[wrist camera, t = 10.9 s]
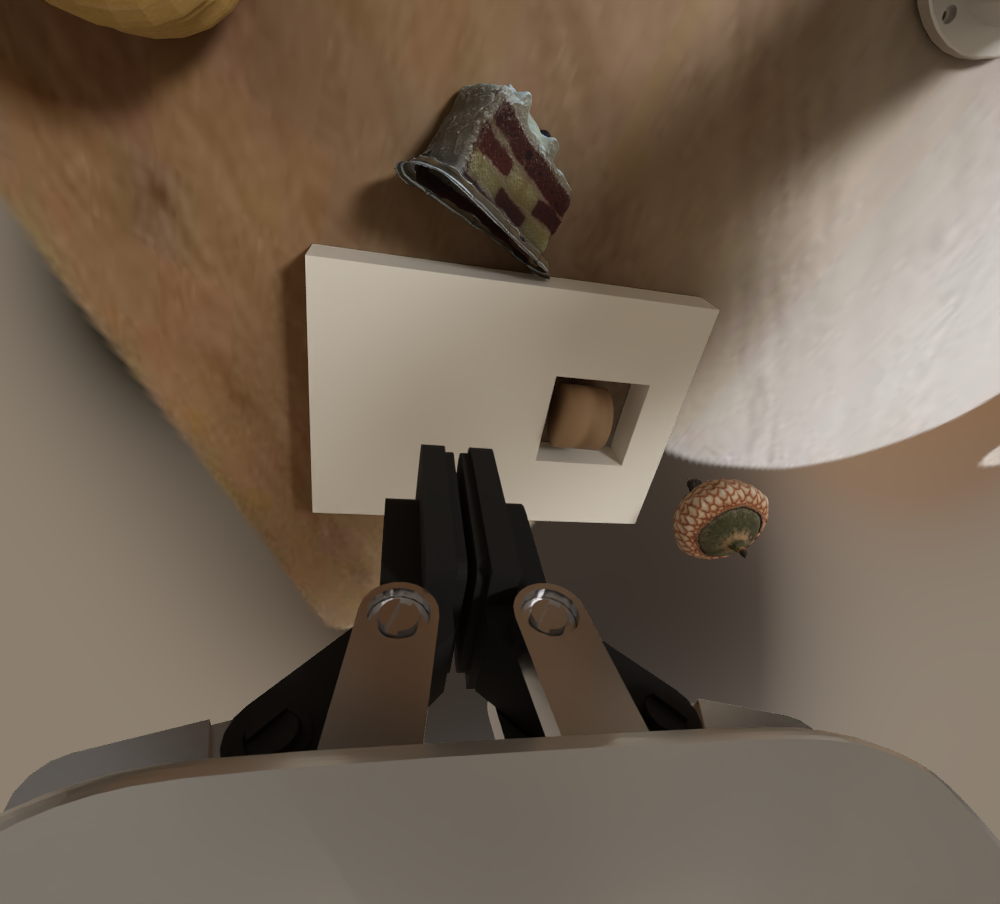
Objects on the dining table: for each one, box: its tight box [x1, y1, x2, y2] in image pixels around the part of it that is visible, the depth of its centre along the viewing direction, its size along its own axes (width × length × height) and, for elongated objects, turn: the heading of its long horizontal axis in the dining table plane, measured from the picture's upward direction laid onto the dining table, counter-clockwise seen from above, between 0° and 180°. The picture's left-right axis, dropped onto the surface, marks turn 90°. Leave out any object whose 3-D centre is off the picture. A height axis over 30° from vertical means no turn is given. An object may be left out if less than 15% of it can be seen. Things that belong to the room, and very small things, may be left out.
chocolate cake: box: [394, 83, 571, 280], centre depth 32 cm, size 10×7×12 cm
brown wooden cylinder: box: [547, 383, 614, 451], centre depth 41 cm, size 5×5×4 cm
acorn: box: [673, 478, 769, 559], centre depth 46 cm, size 8×8×10 cm
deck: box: [305, 244, 720, 524], centre depth 41 cm, size 28×20×3 cm
